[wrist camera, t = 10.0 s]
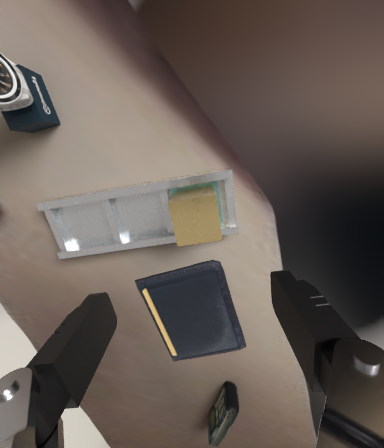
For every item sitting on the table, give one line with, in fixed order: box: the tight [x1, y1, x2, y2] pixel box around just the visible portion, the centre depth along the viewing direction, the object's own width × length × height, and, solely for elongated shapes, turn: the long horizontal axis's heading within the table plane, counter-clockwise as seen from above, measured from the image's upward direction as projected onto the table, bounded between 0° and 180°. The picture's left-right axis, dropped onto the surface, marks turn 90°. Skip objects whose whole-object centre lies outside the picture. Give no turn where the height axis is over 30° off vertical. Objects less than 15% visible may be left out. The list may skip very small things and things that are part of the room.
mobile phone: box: [208, 382, 239, 446], centre depth 41 cm, size 5×3×15 cm
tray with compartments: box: [36, 168, 239, 259], centre depth 28 cm, size 8×26×3 cm, turn 100°
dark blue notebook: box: [135, 260, 246, 361], centre depth 35 cm, size 20×2×15 cm
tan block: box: [168, 185, 223, 247], centre depth 24 cm, size 5×5×7 cm
